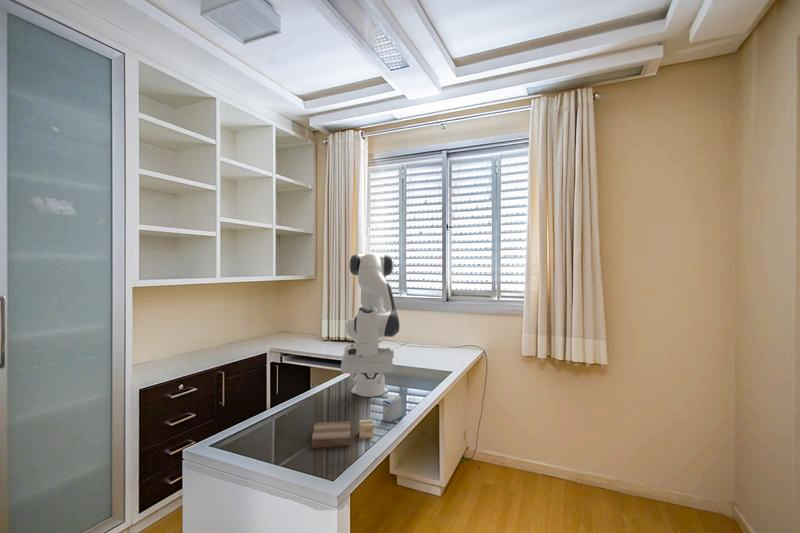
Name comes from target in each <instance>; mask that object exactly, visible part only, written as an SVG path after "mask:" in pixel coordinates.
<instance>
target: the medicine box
mask: <svg viewBox="0 0 800 533" xmlns="http://www.w3.org/2000/svg"><path fill="white" fill-rule="evenodd" d="M402 411H403V398H402V397H401V396H398V395H395V394H394V395H392V396H389V397H387V398H385V399H383V400H382V420H383V421H385V422H387V423H392V422H393V421H395V420H396V421H397V419H400V418H401V417H402Z"/></svg>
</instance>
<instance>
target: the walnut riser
mask: <svg viewBox="0 0 800 533" xmlns="http://www.w3.org/2000/svg"><path fill="white" fill-rule="evenodd" d="M351 433H352V432H351V421H350V420H347V421H321V422H320V421H319V422H314V426H313V432H312V436H311V448H312V449H313V448H315V449H316V448H332V447H333V448H334V447H350V446H351V440H352V439H351Z"/></svg>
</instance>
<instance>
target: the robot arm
mask: <svg viewBox="0 0 800 533" xmlns="http://www.w3.org/2000/svg"><path fill="white" fill-rule="evenodd" d="M394 266H395V264H394V259H393V257H392V255H390V254H387V253H385V254H382V253H374V252H368V253H363V254H358V253H357V254H353V255H351V256H350V259H349V261H348V269H349V271H350V273H351V275H354V276H357V280H358V282H357V283H358V285H359V287H360V305H361V306H360V307H359V308H358V309H357V315H356V316H355V317H350V318H349V319H347V321H346V323H345V333H346V335H347V336H349V338H350V339H352V340H353V341H354V343H352V344H349V345H348V344H347V345H345V347H344V353H343V355H342V358H341V363H340V372H341V373H342V374H349V377H350V379H351V380H352V385H353V386H352V389H351V392H350V393H352V394H354V395H355V394H356V395H358V396H360V397H364V398H365V397H367V398H371V397H372V398H373V397H378V396H382V395H383V394H386V393H387V392H389V388H387V387H386V386H385V385H386V383H385V381H386V380H385V374H387V373H388V374H389V373H392V372H393V370H394V366H393V365H394V364H393V358H394V357H395V354H394V350H393V349H391V347H386V348H384V347H381V348H380V347H379V346H380V344H379V342H380V339H386V338H393V337H394V336H396V335H397V334H398V333H399V332H400V329H401V328H400V326H401V322H400V318H399V316H398V311H397V308H396V304H395V299H394V295H393V290H392V287H391V285H390V283H389V282H388V281H386V279H385V278H386V277H387V276H390V275H391V274H392V273H393V270H394ZM383 276H384V277H383ZM383 301H384V303H383ZM355 374H356V376H354V375H355Z"/></svg>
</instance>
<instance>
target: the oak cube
mask: <svg viewBox="0 0 800 533" xmlns="http://www.w3.org/2000/svg"><path fill="white" fill-rule="evenodd" d="M358 428H359V429H358V430H359V432H358V433H359V439H373V436H374V434H373V433H374V423H373V419H359V426H358Z"/></svg>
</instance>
